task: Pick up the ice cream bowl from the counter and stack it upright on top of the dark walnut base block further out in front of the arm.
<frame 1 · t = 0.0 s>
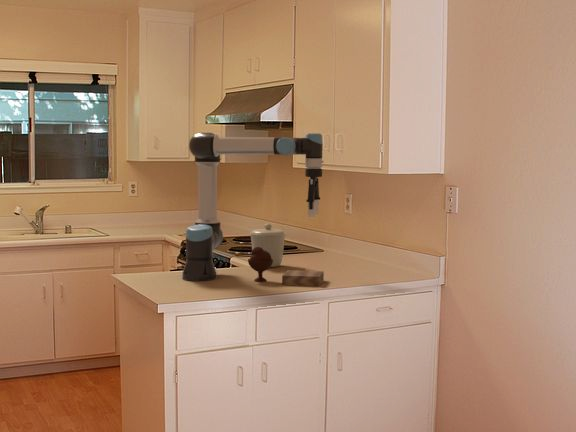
hand: (313, 215, 346), 28 cm above the countertop, tool pointing down, fingers open, 13 cm apart
canister: (267, 266, 379), on the countertop
walnut base: (303, 282, 335), on the countertop
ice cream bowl: (260, 281, 338), on the countertop
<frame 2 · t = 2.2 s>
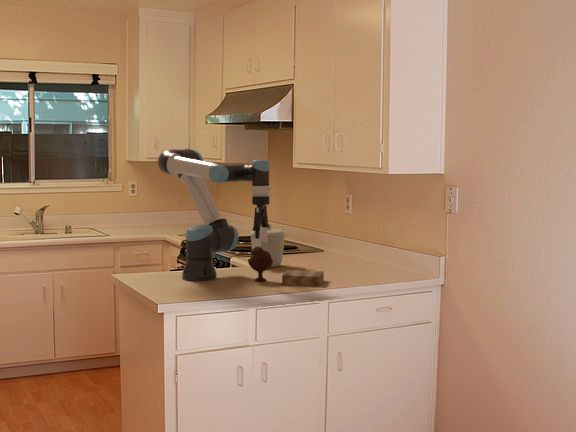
hand: (261, 244, 337), 16 cm above the countertop, tool pointing down, fingers open, 13 cm apart
nothing on the countertop moved.
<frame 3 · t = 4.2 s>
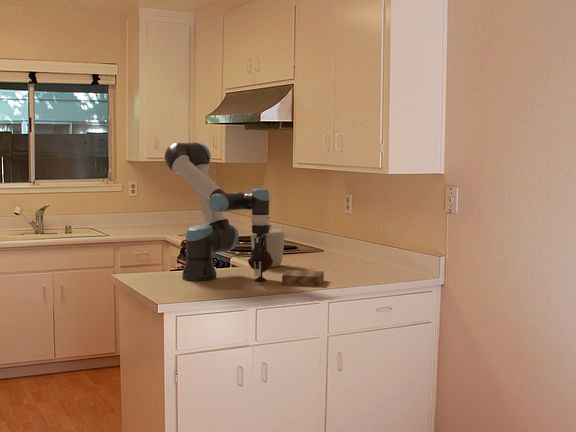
hand: (260, 274, 338), 3 cm above the countertop, tool pointing down, fingers closed on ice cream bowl, 11 cm apart
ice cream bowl: (260, 281, 338), on the countertop, touching gripper
everything else where it was.
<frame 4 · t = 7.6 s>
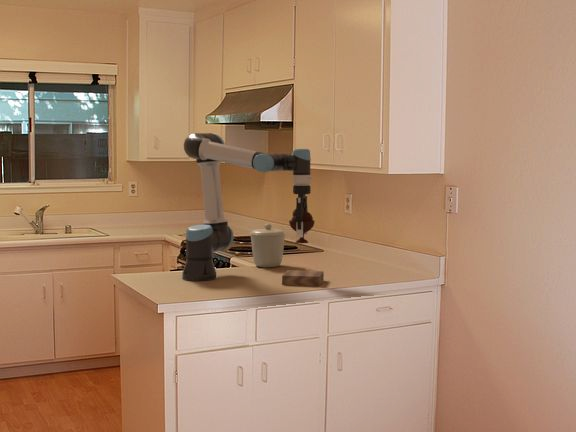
hand: (301, 235, 333), 20 cm above the countertop, tool pointing down, fingers closed on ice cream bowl, 11 cm apart
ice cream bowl: (301, 243, 333), point 17 cm above the countertop, touching gripper
everything else where it was.
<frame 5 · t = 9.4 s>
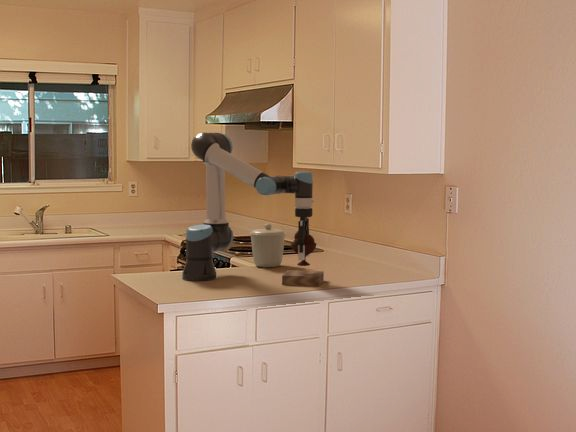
hand: (303, 258, 334), 11 cm above the countertop, tool pointing down, fingers closed on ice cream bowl, 11 cm apart
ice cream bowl: (303, 265, 334), point 8 cm above the countertop, touching gripper
everything else where it was.
when the fingers open (8 cm above the countertop, at t = 10.9 s): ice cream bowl drops 1 cm, resting on walnut base.
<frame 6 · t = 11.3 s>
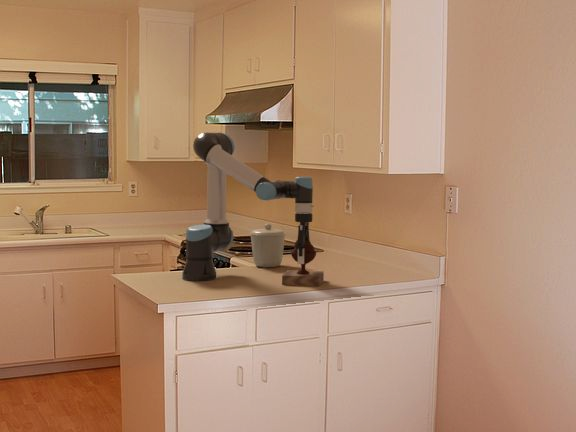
hand: (303, 261, 334), 9 cm above the countertop, tool pointing down, fingers open, 13 cm apart
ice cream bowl: (303, 273, 335), point 4 cm above the countertop, touching walnut base
everything else where it was.
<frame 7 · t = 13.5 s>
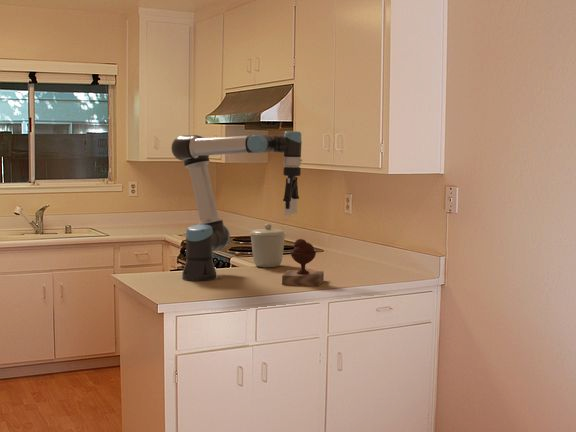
hand: (290, 215, 340), 29 cm above the countertop, tool pointing down, fingers open, 13 cm apart
nothing on the countertop moved.
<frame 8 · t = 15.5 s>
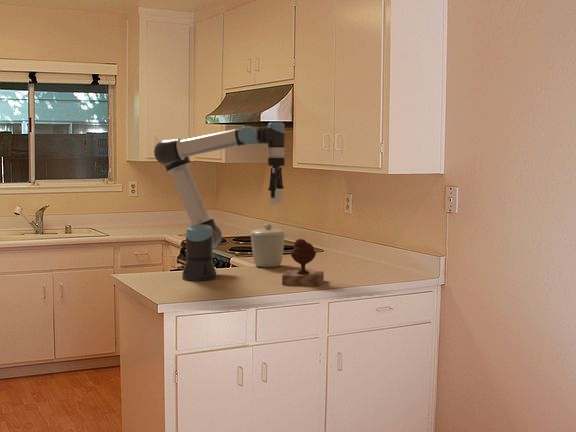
hand: (276, 204, 349), 33 cm above the countertop, tool pointing down, fingers open, 13 cm apart
nothing on the countertop moved.
at the end: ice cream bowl inside the target area on the walnut base (0.2 cm from its centre), point 3.8 cm above the walnut base's base; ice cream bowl tilted 0°; the gripper is holding nothing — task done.
